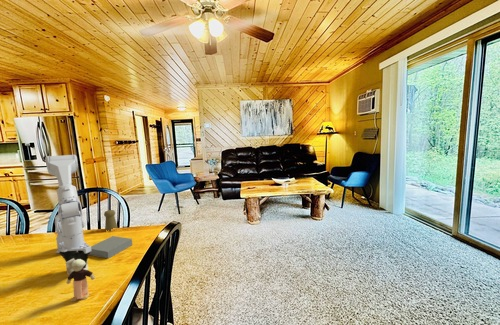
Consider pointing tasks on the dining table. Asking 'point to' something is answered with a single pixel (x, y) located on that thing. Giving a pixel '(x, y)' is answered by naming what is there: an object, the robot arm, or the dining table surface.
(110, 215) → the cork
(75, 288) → the grandmother figurine
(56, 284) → the dining table surface
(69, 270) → the cream cube
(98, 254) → the base plinth
